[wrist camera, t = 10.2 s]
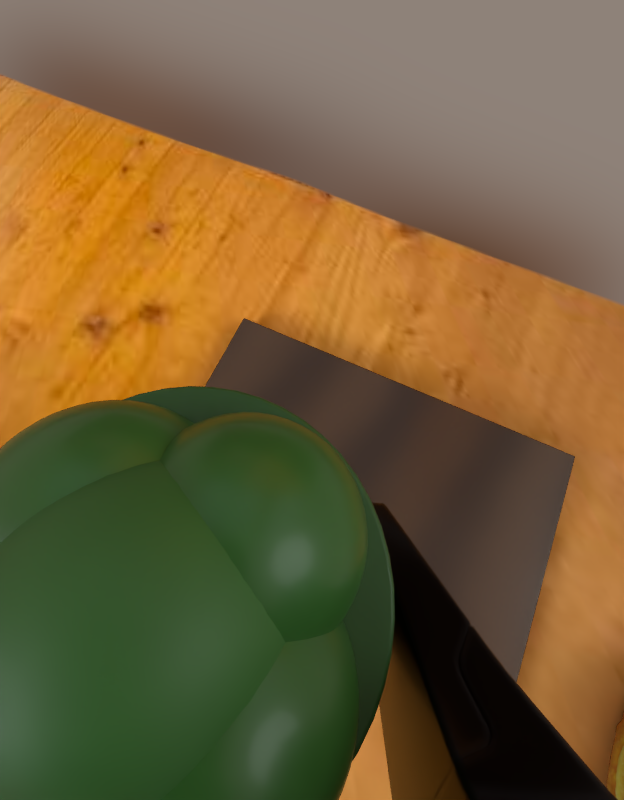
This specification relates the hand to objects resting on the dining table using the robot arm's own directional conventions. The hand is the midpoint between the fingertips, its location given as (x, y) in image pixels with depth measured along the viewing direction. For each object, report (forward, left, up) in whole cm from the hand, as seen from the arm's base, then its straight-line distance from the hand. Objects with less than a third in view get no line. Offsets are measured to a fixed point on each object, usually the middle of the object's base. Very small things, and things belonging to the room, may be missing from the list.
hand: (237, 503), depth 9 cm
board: (-3, -2, -13) cm, 14 cm away
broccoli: (0, +1, -7) cm, 7 cm away
